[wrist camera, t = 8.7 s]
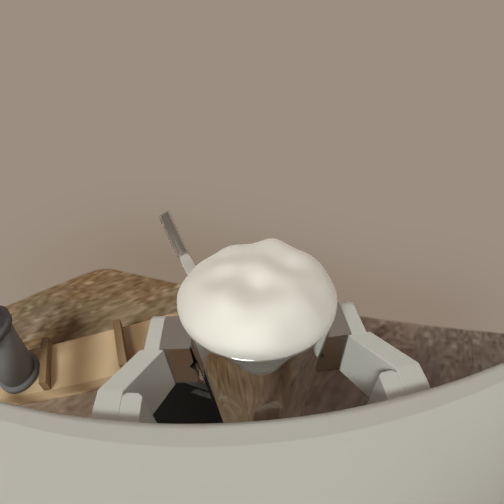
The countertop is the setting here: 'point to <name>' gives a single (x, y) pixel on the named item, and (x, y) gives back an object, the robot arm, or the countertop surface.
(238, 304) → the milkshake
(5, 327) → the spool
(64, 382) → the organizer
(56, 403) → the countertop surface
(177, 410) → the phone
